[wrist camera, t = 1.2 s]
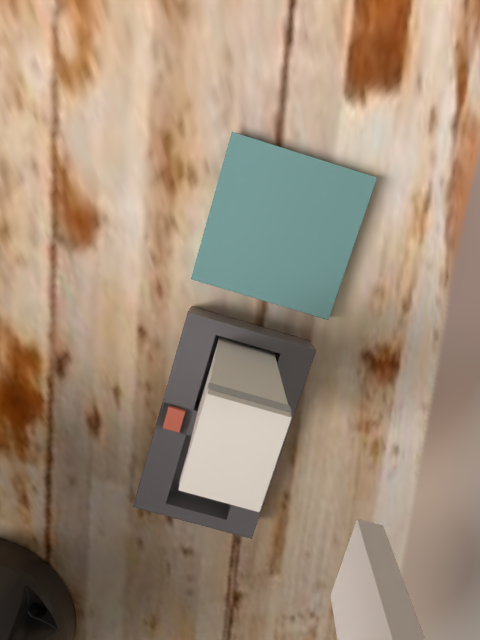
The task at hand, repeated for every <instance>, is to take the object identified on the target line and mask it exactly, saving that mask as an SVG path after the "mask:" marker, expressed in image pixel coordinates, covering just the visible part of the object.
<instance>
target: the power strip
mask: <svg viewBox="0 0 480 640" xmlns="http://www.w3.org/2000/svg"><path fill="white" fill-rule="evenodd" d="M219 336H221V337H225V338H228V339H232V340H235V341H238V342H242V343H245V344H249V345H252V346H256V347H259V348H263V349H266V350H269V351H273V352H274V354H275V358H276V361H277V365H278V369H279V373H280V376H281V380H282V384H283V387H284V391H285V395H286V399H287V402H288V405H290V408H291V417H292V418H291V421H290V424H289V427H288V430H287V433H286V436H285V439H286V437H287V434H288V431H289V428H290V425H291V422H292V419H293V416H294V413H295V410H296V407H297V404H298V401H299V398H300V395H301V393H302V390H303V387H304V384H305V381H306V378H307V375H308V372H309V369H310V366H311V363H312V360H313V357H314V354H315V351H316V349H315V347H314V346H313V344H312V343H311V341H309V340H305V339H302V338H298V337H295V336H291V335H288V334H285V333H281V332H278V331H274V330H271V329H268V328H264V327H261V326H257V325H254V324H251V323H247V322H244V321H240V320H237V319H234V318H230V317H227V316H223V315H220V314H216V313H213V312H210V311H206V310H203V309H199V308H196V307H193V306H192V307H191V308H190V310H189V311H188V313H187V317H186V320H185V324H184V328H183V331H182V335H181V338H180V342H179V345H178V349H177V353H176V356H175V360H174V363H173V367H172V370H171V374H170V378H169V381H168V385H167V388H166V392H165V395H164V399H163V403H162V406H161V410H160V413H159V417H158V420H157V424H156V427H155V431H154V435H153V438H152V442H151V445H150V449H149V452H148V456H147V460H146V463H145V467H144V470H143V474H142V477H141V481H140V485H139V488H138V492H137V495H136V499H135V502H134V506H133V507H135V508H139V509H143V510H146V511H150V512H154V513H158V514H161V515H165V516H169V517H173V518H176V519H180V520H184V521H187V522H191V523H195V524H199V525H202V526H206V527H210V528H214V529H217V530H221V531H225V532H228V533H232V534H236V535H240V536H243V537H247V538H251V539H252V536H253V533H254V530H255V528H256V525H257V522H258V519H259V516H260V513H261V510H262V507H263V504H264V501H265V498H266V495H267V492H268V489H269V486H270V483H271V481H272V478H273V475H274V472H275V469H276V466H277V463H278V460H279V457H280V454H281V451H282V448H283V445H284V442H285V439H284V442H283V444H282V447H281V450H280V453H279V456H278V459H277V462H276V465H275V468H274V471H273V474H272V477H271V480H270V483H269V486H268V489H267V491H266V494H265V497H264V500H263V503H262V506H261V509H260V512H256V511H253V510H249V509H245V508H242V507H238V506H234V505H231V504H227V503H223V502H219V501H216V500H212V499H208V498H205V497H201V496H197V495H194V494H190V493H186V492H183V491H179V490H178V489H179V485H180V484H179V481H180V477H181V473H182V470H183V467H184V463H185V460H186V457H187V453H188V449H189V445H190V441H191V437H192V433H193V428H194V424H195V420H196V416H197V412H198V408H199V404H200V400H201V396H202V393H203V390H204V386H205V383H206V380H207V376H208V373H209V369H210V366H211V363H212V359H213V356H214V353H215V349H216V346H217V342H218V339H219Z"/></svg>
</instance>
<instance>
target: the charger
mask: <svg viewBox="0 0 480 640" xmlns="http://www.w3.org/2000/svg"><path fill="white" fill-rule="evenodd" d="M291 418H292V417H291V408H290V405H288V402H287V399H286V395H285V391H284V387H283V384H282V380H281V376H280V373H279V369H278V365H277V361H276V358H275V354H274V352H273V351H269V350H266V349H263V348H259V347H256V346H252V345H249V344H245V343H242V342H238V341H235V340H232V339H228V338H225V337H221V336H219V339H218V342H217V346H216V349H215V353H214V356H213V359H212V363H211V366H210V369H209V373H208V376H207V380H206V383H205V386H204V390H203V393H202V396H201V400H200V404H199V408H198V412H197V416H196V420H195V424H194V428H193V433H192V437H191V441H190V445H189V449H188V453H187V457H186V460H185V463H184V467H183V470H182V473H181V477H180V481H179V484H180V485H179V489H178V490H179V491H183V492H186V493H190V494H194V495H197V496H201V497H205V498H208V499H212V500H216V501H219V502H223V503H227V504H231V505H234V506H238V507H242V508H245V509H249V510H253V511H256V512H260V509H261V506H262V503H263V500H264V497H265V494H266V491H267V489H268V486H269V483H270V480H271V477H272V474H273V471H274V468H275V465H276V462H277V459H278V456H279V453H280V450H281V447H282V444H283V442H284V439H285V436H286V433H287V430H288V427H289V424H290V421H291Z"/></svg>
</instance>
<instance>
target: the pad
mask: <svg viewBox="0 0 480 640" xmlns="http://www.w3.org/2000/svg"><path fill="white" fill-rule="evenodd" d="M376 179H377V177H374V176H370V175H367V174H364V173H361V172H358V171H355V170H351V169H348V168H345V167H342V166H339V165H336V164H332V163H329V162H326V161H323V160H320V159H317V158H313V157H310V156H307V155H304V154H301V153H297V152H294V151H291V150H288V149H285V148H282V147H278V146H275V145H272V144H269V143H266V142H263V141H259V140H256V139H253V138H250V137H247V136H244V135H240V134H237V133H234V132H232V133H231V137H230V141H229V144H228V148H227V151H226V155H225V159H224V162H223V166H222V169H221V173H220V177H219V180H218V184H217V187H216V191H215V195H214V198H213V202H212V205H211V209H210V213H209V216H208V220H207V223H206V227H205V231H204V234H203V238H202V241H201V245H200V249H199V252H198V256H197V259H196V263H195V267H194V270H193V274H192V277H191V279H192V280H196V281H199V282H202V283H206V284H209V285H212V286H216V287H219V288H223V289H226V290H229V291H233V292H236V293H239V294H243V295H246V296H250V297H253V298H256V299H260V300H263V301H266V302H270V303H273V304H277V305H280V306H283V307H287V308H290V309H293V310H297V311H300V312H304V313H307V314H310V315H314V316H317V317H320V318H324V319H327V320H329V317H330V314H331V311H332V308H333V305H334V302H335V299H336V296H337V293H338V290H339V287H340V284H341V282H342V279H343V276H344V273H345V270H346V267H347V264H348V261H349V258H350V255H351V252H352V249H353V246H354V244H355V241H356V238H357V235H358V232H359V229H360V226H361V223H362V220H363V217H364V214H365V211H366V208H367V205H368V203H369V200H370V197H371V194H372V191H373V188H374V185H375V182H376Z"/></svg>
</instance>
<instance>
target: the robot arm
mask: <svg viewBox="0 0 480 640" xmlns="http://www.w3.org/2000/svg"><path fill="white" fill-rule="evenodd" d="M330 597H331V603H332V609H333V615H334V621H335V628H336V634H337V640H425V638H424V635H423V632H422V630H421V627H420V624H419V622H418V619H417V616H416V614H415V611H414V608H413V605H412V603H411V600H410V597H409V595H408V592H407V589H406V587H405V584H404V581H403V578H402V576H401V573H400V570H399V568H398V565H397V562H396V560H395V557H394V554H393V552H392V549H391V546H390V544H389V541H388V538H387V536H386V533H385V530H384V527H383V525H379V524H375V523H371V522H367V521H363V520H359V519H357V521H356V524H355V526H354V529H353V532H352V535H351V538H350V541H349V544H348V547H347V549H346V552H345V555H344V558H343V561H342V564H341V567H340V570H339V572H338V575H337V578H336V581H335V584H334V587H333V590H332V593H331V595H330ZM75 629H76V618H75V610H74V606H73V602H72V599H71V597H70V594H69V592H68V590H67V588H66V586H65V585H64V583H63V582H62V580H61V579H60V577H59V576H58V575H57V574H56V572H55V571H54V570H53V569H52V568H51V567H50V566H49V565H48V564H47V563H46V562H44V561H43V560H42V559H41V558H39V557H38V556H36V555H35V554H33V553H32V552H30V551H28V550H27V549H25V548H23V547H21V546H18V545H16V544H14V543H11V542H8V541H5V540H1V539H0V640H74V635H75Z"/></svg>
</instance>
